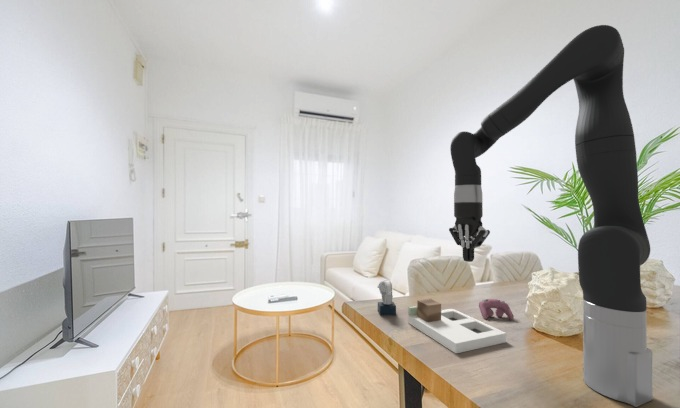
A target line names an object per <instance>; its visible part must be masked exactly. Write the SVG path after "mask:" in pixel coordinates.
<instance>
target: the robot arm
mask: <svg viewBox="0 0 680 408" xmlns="http://www.w3.org/2000/svg"><path fill="white" fill-rule="evenodd" d="M624 57H625V47H624V42H623V39H622V36H621V34H620V32H619V30H618V29H617V28H616V27H614V26H612V25H608V24H600V25H596V26H591V27H589V28H587V29H585V30H583V31H581V32H580V33H579V34H577V35H576V36H575V37H573V39H571V40H570V41H569V42H568V43H567V44H566V45H565V46H564V47H563V48H562V49H561V50H560V51H559V52H558V53H557V54H556V55H555V56H554V57H553V58H552V59H551V60H550V61H549V62H547V64H546V65H544V67H543V68H542V69H541V70H539V72H538V73H536V74H535V75H534V77H532V78H531V79H530V80H529V81H528V82H527V83H526V84H525V85H524V86H522V87H521V88H520V89H519V90H518V91H517V92H516V93H514V94H513V95H512V96H510V97H509V98H508V99H507V100H506V101H505V102H503V103H502V104H500V105H499V106H498V107H496V108H495V109H494V110H492V111H491V112H490V113H489V114H487V115H486V116H485V117H484V118H483V119H482V120H481V123H480V127H479V128H478V129H477V131H475V132H474V133H472V132H469V131H460V132H458V133H456V134H455V135H454V137H452V140H451V141H450V142H451V143H450V149H449V151H450V155H451V161H452V162H451V163H452V165H453V169H454V190H453V191H454V193H453V201H454V202H453V216H454V218H455V222H454V226H452V227H449V229H448V231H449V233H450V235H451V237H452V238H453V240H454V242H455V244H456V245H457V246H460V247H461V249H462V259H463V262H469V263H471V262H474V259H475V249H476V248H480V247H481V246H482V244H483V243H485V241H486V239H487V238H488V236H489V235H490V233H491V230H489V229H486V228H485V227H483V222H482V218H483V210H484V209H483V191H482V190H483V189H482V169H481V167H480V166H479V164H477V161H476V158H478V157H480V156H482V155H484V154H485V153H486V152H487V151H489V149H491V148H492V147H493V146H494V145H495V144H496V143H497V141H498V140H500V138H503V136H505V135H506V134H508V133H510V132H511V131H512V130H514V129H515V128H516V127H518V126H520V125H521V124H523V122H525V121H526V120H528V118H529V117H530V116H531V115H532V114H533V113H534V112H536V110H537V109H538V108H539V106H541V105H542V104H543V103H544V102H545V101H546V100H547V99H548V98H549V97H550V96H551V95H552V94H553V93H554V92H556V91H557V90H559V89H560V88H562V86H564V85H565V84H568V83H569V82H570V81H572V80H573V82H574V85H575V86H574V87H575V89H576V93H577V99H578V116H577V120H576V127H575V133H574V144H575V145H574V149H575V157H576V163H577V164H576V165H577V169H578V172H579V174H580V178H581V180H582V182H583V185H584V186H585V189H586V191H587V193H588V195H589V197H590V201H591V204H592V207H593V227H592V228H591V229H589V230H586V231H585V232H584V233H583V234H582V235H581V237H580V239H579V241H578V247H577V248H578V249H577V260H578V261H577V264H578V282H579V285H580V289H581V290H582V296H583V297H582V298H583V299H582V302H583V303H582V309H583V310H582V311H583V313H582V315H583V317H582V327H583V328H582V336H583V337H582V341H583V343H582V345H583V346H582V351H583V352H582V355H583V356H582V357H583V363H582V365H583V367H582V372H583V374H582V375H583V381H584V383H585V384H586V386H588V387H589V388H590V389H591V390H593V391H595V392H597V393H599V394H600V395H603V396H604V397H608V398H609V399H612V400H615V401H619V402H622V403H626V404H628V405H630V406H633V407H635V408H638V407H639V406H642V405H644V404H646V403H649V402H651V401H653V397H654V396H653V394H654V393H653V390H654V389H653V388H654V387H653V384H654V383H653V380H654V379H653V351H652V349H650V348H648V347H647V346H648V345H647V344H648V343H647V342H648V341H647V340H648V338H647V337H648V336H647V334H648V333H647V328H648V327H647V297H646V294H644V293H643V290H642V284H641V282H642V280H641V266H642V265H643V264H644V263H646V262H647V261H648V260H649V258H650V255H651V243H650V240H649V237H648V233H647V230H646V226H645V222H644V219H643V215H642V211H641V207H640V200H639V177H638V162H637V150H636V149H637V147H636V140H635V133H634V128H633V124H632V119H631V116H630V111H629V110H628V106H627V103H626V100H625V97H624V86H623V85H624V82H623V81H624V79H623V77H624V62H625V61H624V60H625V58H624Z"/></svg>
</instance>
